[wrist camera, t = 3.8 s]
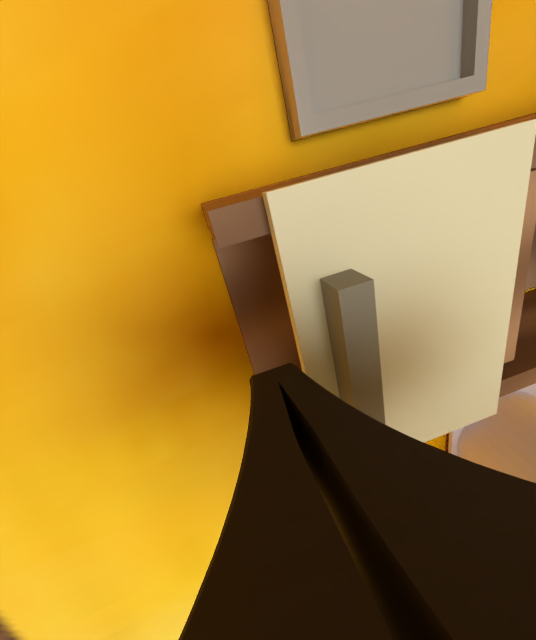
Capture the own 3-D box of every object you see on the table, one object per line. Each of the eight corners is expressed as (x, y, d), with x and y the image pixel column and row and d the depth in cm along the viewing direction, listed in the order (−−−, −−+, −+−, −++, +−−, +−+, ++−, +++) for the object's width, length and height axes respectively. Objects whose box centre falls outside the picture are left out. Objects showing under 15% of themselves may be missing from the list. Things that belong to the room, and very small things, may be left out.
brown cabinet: (543, 299, 20) (658, 335, 15) (262, 399, 17) (290, 479, 13) (581, 100, 15) (769, 57, 10) (201, 203, 13) (207, 211, 8)
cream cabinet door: (486, 406, 14) (523, 433, 12) (324, 470, 13) (342, 507, 11) (520, 121, 9) (589, 107, 7) (261, 192, 8) (278, 192, 6)
